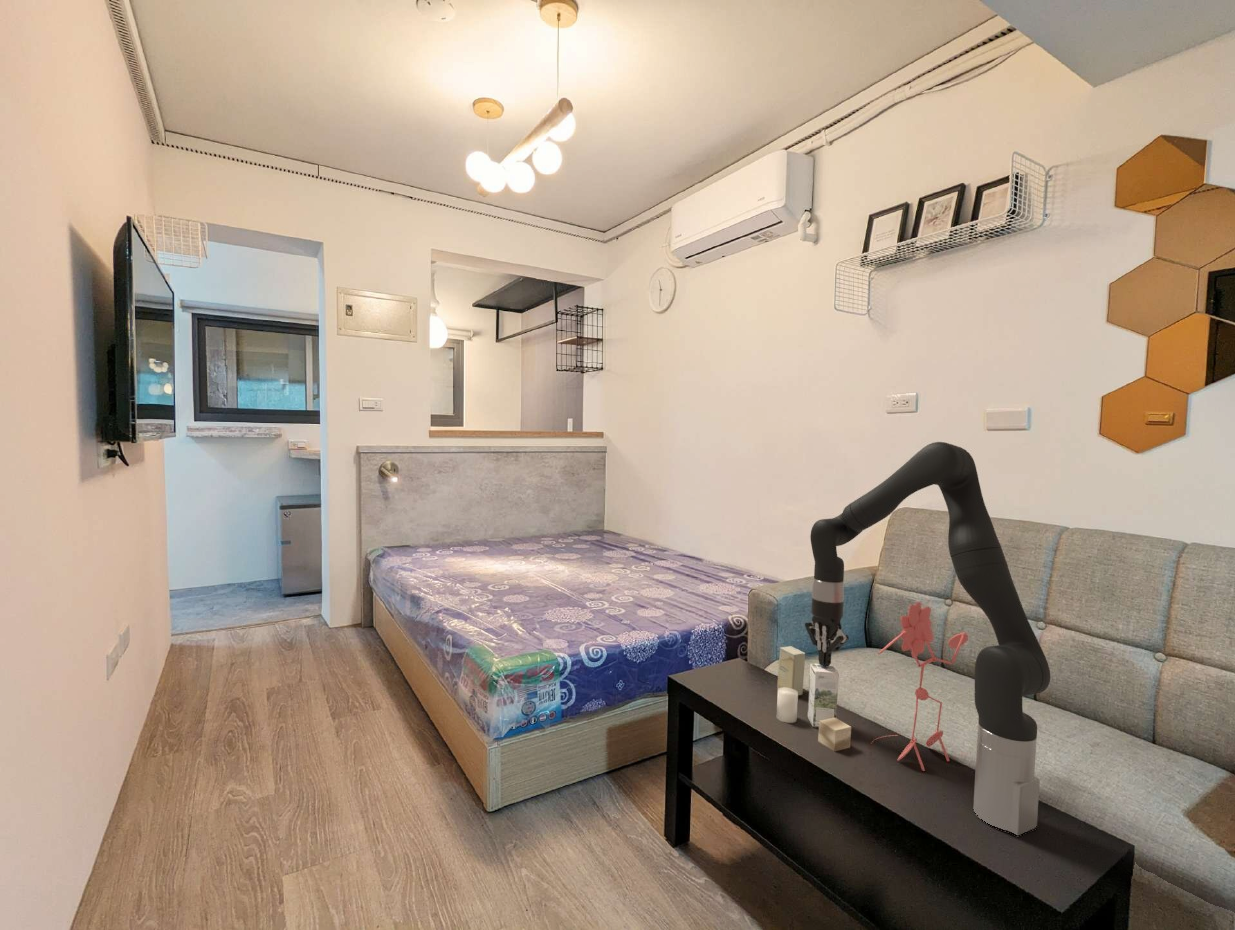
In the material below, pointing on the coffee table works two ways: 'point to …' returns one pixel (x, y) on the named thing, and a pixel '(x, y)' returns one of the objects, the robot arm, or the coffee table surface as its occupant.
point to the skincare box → (791, 669)
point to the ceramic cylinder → (787, 705)
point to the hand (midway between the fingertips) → (824, 665)
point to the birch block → (834, 734)
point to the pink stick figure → (914, 639)
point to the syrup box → (822, 693)
